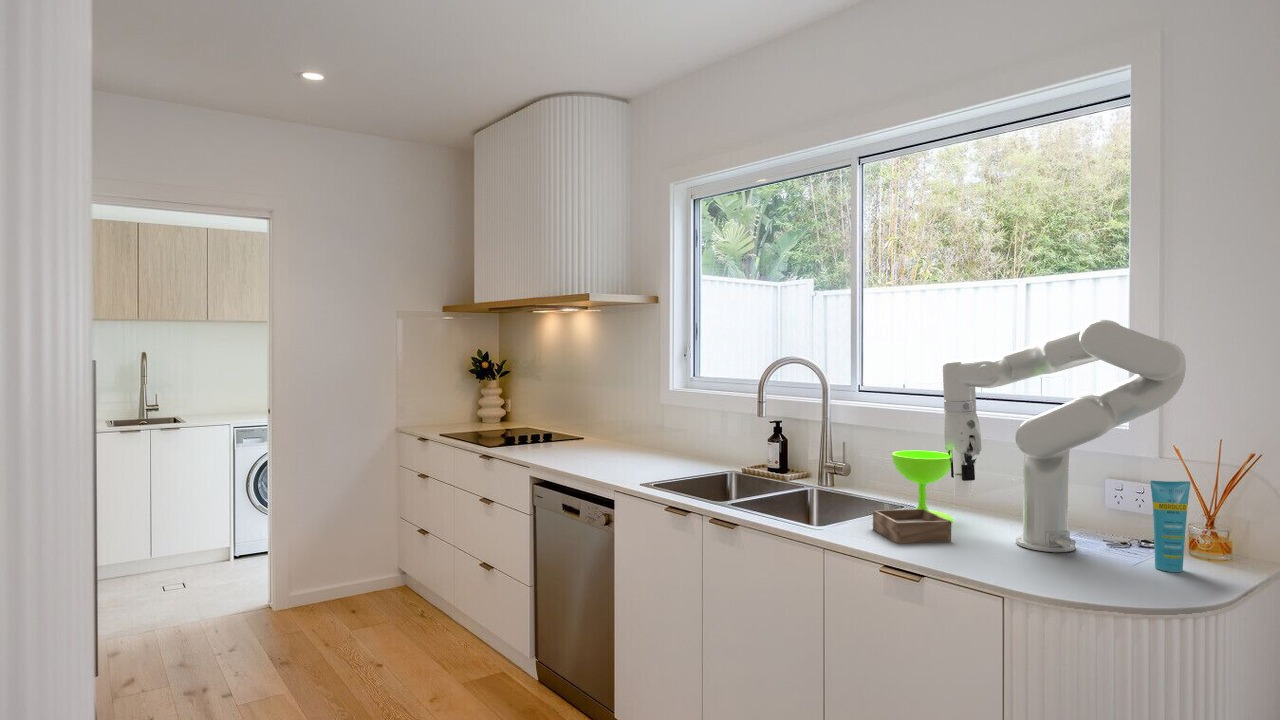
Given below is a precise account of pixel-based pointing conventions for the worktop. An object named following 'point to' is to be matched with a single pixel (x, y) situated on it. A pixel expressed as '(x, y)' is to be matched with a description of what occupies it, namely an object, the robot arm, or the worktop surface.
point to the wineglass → (923, 471)
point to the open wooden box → (911, 526)
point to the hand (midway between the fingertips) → (962, 478)
